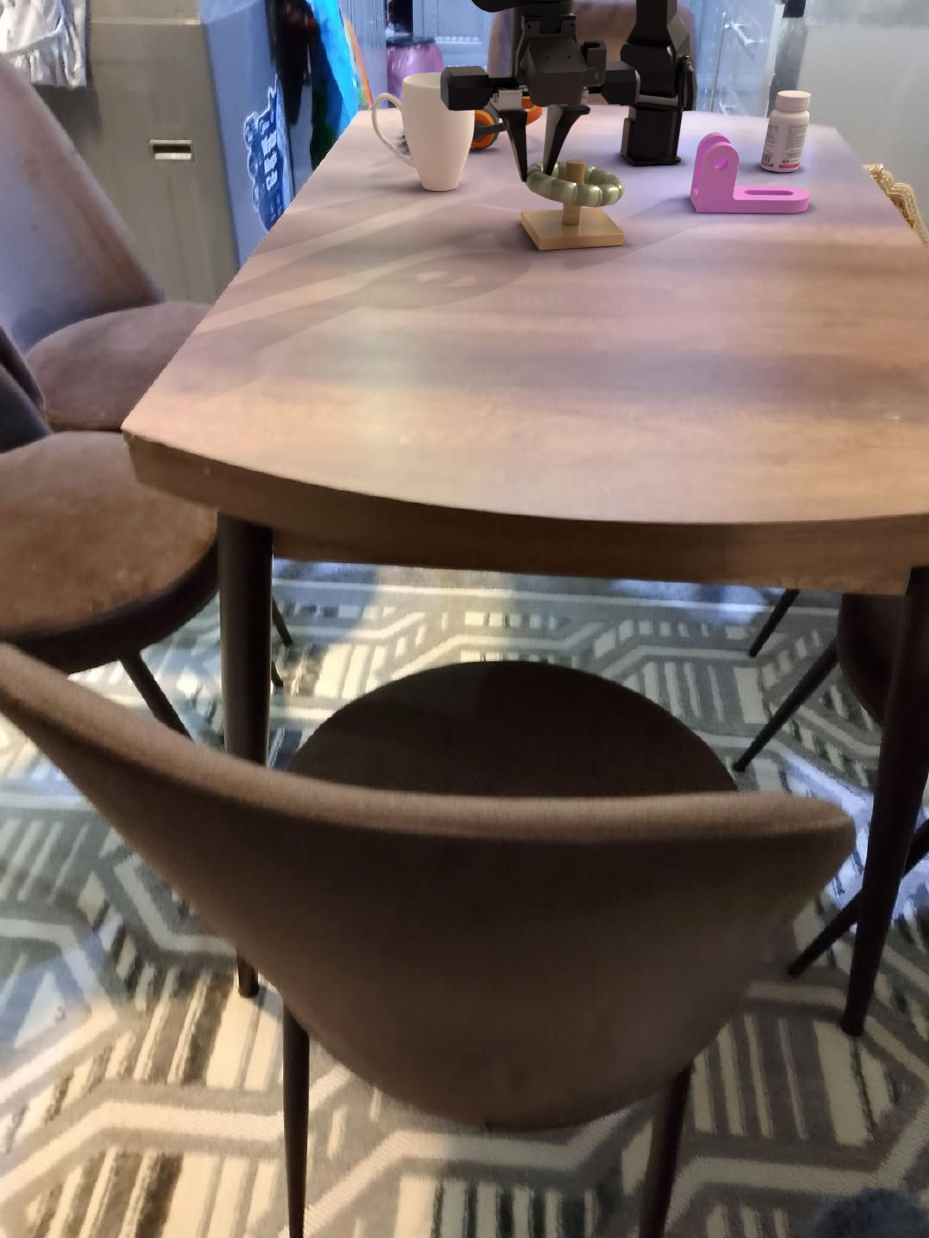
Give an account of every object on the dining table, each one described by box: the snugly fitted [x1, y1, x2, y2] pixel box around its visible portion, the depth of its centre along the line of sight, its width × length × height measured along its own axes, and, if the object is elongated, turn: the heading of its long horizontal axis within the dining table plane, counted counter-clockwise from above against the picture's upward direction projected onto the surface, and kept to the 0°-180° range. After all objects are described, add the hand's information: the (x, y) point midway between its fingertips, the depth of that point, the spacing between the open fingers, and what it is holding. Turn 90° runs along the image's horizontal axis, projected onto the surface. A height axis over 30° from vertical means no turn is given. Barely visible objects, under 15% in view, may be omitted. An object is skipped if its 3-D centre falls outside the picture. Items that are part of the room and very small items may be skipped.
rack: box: [520, 158, 625, 251], centre depth 95 cm, size 9×9×7 cm
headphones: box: [401, 96, 543, 152], centre depth 125 cm, size 17×5×20 cm
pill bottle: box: [760, 90, 812, 173], centre depth 114 cm, size 5×5×8 cm
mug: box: [371, 71, 474, 192], centre depth 107 cm, size 12×8×11 cm
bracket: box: [689, 131, 811, 214], centre depth 103 cm, size 13×6×7 cm, turn 88°
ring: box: [523, 160, 626, 208], centre depth 94 cm, size 10×10×2 cm
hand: (534, 181), depth 94 cm, fingers closed on ring, 2 cm apart
